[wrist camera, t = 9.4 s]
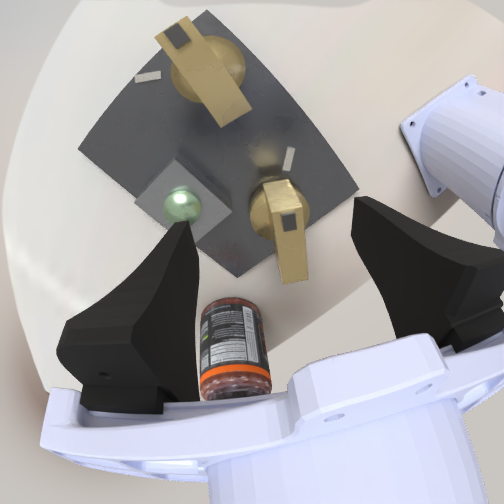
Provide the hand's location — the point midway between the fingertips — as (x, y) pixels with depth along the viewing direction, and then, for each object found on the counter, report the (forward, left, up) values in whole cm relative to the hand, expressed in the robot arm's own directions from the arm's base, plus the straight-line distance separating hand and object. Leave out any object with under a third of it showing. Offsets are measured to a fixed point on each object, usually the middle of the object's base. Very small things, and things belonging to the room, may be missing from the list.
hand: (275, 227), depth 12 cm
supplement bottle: (+12, +10, -9) cm, 18 cm away
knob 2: (+1, +3, -7) cm, 8 cm away
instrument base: (+1, -2, -8) cm, 9 cm away
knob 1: (-2, -7, -7) cm, 10 cm away
